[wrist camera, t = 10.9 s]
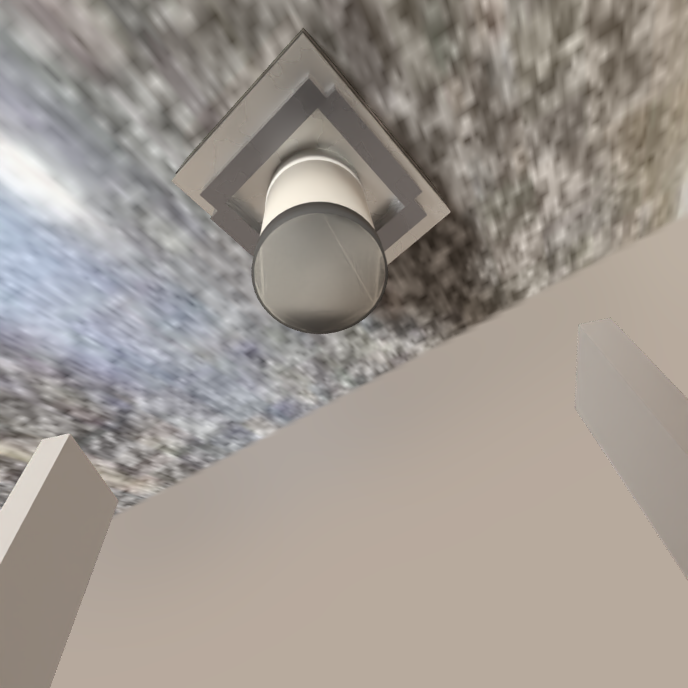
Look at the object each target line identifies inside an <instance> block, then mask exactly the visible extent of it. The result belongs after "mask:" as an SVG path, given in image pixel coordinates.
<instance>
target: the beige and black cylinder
mask: <svg viewBox="0 0 688 688" xmlns="http://www.w3.org/2000/svg"><path fill="white" fill-rule="evenodd" d="M387 278H388V266H387V260H386V256H385V252H384V249H383V246H382V243H381V241H380V238H379V236H378V234H377V233H376V231H375V228H374V225H373V222H372V218H371V215H370V212H369V208H368V205H367V199H366V195H365V192H364V189H363V186H362V184H361V182H360V179H359V177H358V174H357V172H356V171H355V169H354V168H353V166H352V165H351V164H350V163H349V162H348V161H347V160H346V159H345V158H344V157H342V156H341V155H339V154H337V153H336V152H333V151H331V150H327V149H323V148H307V149H303V150H299V151H297V152H295V153H293V154H291V155H289V156H288V157H286V158H285V159H284V160H283V161H282V162H281V163H280V164H279V165H278V167H277V168H276V170H275V171H274V173H273V176H272V178H271V181H270V185H269V188H268V191H267V196H266V202H265V212H264V218H263V223H262V228H261V234H260V237H259V239H258V241H257V245H256V248H255V252H254V257H253V263H252V283H253V287H254V290H255V293H256V295H257V298H258V300H259V301H260V303H261V304H262V306H263V307H264V309H265V310H266V311H267V312H268V313H269V314H270V315H271V316H272V317H273V318H274V319H276V320H277V321H279V322H280V323H282V324H283V325H285V326H287V327H289V328H292V329H294V330H297V331H301V332H305V333H311V334H328V333H334V332H338V331H342V330H345V329H347V328H350V327H352V326H354V325H355V324H357V323H359V322H360V321H362V320H363V319H365V318H366V317H367V316H368V315H369V314H370V313H371V312H372V311H373V310H374V309H375V307H376V306H377V305H378V303H379V301H380V300H381V298H382V296H383V294H384V291H385V288H386V284H387Z"/></svg>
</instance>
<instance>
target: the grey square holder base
mask: <svg viewBox="0 0 688 688" xmlns="http://www.w3.org/2000/svg"><path fill="white" fill-rule="evenodd" d="M307 148H323V149H327V150H331V151H333V152H336V153H337V154H339V155H341V156H342V157H344V158H345V159H346V160H347V161H348V162H349V163H350V164H351V165H352V166H353V168H354V169H355V171H356V172H357V174H358V177H359V179H360V182H361V184H362V186H363V189H364V192H365V195H366V199H367V205H368V208H369V212H370V215H371V218H372V222H373V225H374V228H375V231H376V233H377V234H378V236H379V238H380V241H381V243H382V246H383V249H384V252H385V256H386V260H387V265H388V264H389V263H391V262H392V261H393V260H394V259H395V258H397V257H398V256H399V255H400V254H401V253H403V252H404V251H405V250H406V249H407V248H408V247H410V246H411V245H412V244H413V243H414V242H416V241H417V240H418V239H419V238H420V237H422V236H423V235H424V234H425V233H426V232H428V231H429V230H430V229H431V228H432V227H434V226H435V225H436V224H437V223H438V222H440V221H441V220H442V219H443V218H444V217H445V216H447V215H448V214H449V213H450V212H451V211H450V210H449V208H448V207H447V206H446V202H445V201H444V200H443V198H442V197H441V195H440V194H439V192H438V191H437V189H436V188H435V187H434V185H433V184H432V183H431V182H430V181H429V179H428V178H427V177H426V176H425V175H424V173H423V172H422V171H421V170H420V168H419V167H418V166H417V165H416V164H415V162H414V161H413V160H412V159H411V158H410V156H409V155H408V154H407V153H406V151H405V150H404V149H403V148H402V147H401V145H400V144H399V143H398V142H397V141H396V139H395V138H394V137H393V136H392V135H391V133H390V132H389V131H388V130H387V128H386V127H385V126H384V125H383V124H382V122H381V121H380V120H379V119H378V118H377V116H376V115H375V114H374V113H373V112H372V110H371V109H370V108H369V107H368V105H367V104H366V103H365V102H364V101H363V99H362V98H361V97H360V96H359V95H358V93H357V92H356V91H355V90H354V89H353V87H352V86H351V85H350V84H349V82H348V81H347V80H346V79H345V78H344V76H343V75H342V74H341V73H340V72H339V70H338V69H337V68H336V67H335V66H334V64H333V63H332V62H331V61H330V59H329V58H328V57H327V56H326V55H325V53H324V52H323V51H322V50H321V49H320V47H319V46H318V45H317V44H316V43H315V41H314V40H313V39H312V38H311V36H310V35H309V34H308V33H307V32H306V30H305V29H304V28H302V30H301V31H300V32H299V33H298V34H297V35H296V36H295V37H294V39H293V40H292V41H291V42H290V43H289V44H288V45H287V46H286V47H285V49H284V50H283V51H282V52H281V53H280V54H279V55H278V56H277V58H276V59H275V60H274V61H273V62H272V63H271V64H270V65H269V67H268V68H267V69H266V70H265V71H264V72H263V73H262V74H261V75H260V77H259V78H258V79H257V80H256V81H255V82H254V83H253V84H252V86H251V87H250V88H249V89H248V90H247V91H246V92H245V93H244V95H243V96H242V97H241V98H240V99H239V100H238V101H237V102H236V104H235V105H234V106H233V107H232V108H231V109H230V110H229V111H228V112H227V114H226V115H225V116H224V117H223V118H222V119H221V120H220V121H219V123H218V124H217V125H216V126H215V127H214V128H213V129H212V130H211V132H210V133H209V134H208V135H207V136H206V137H205V138H204V139H203V140H202V142H201V143H200V144H199V145H198V146H197V147H196V148H195V149H194V151H193V152H192V153H191V154H190V155H189V156H188V157H187V158H186V160H185V161H184V162H183V164H182V165H181V167H180V168H179V169H178V171H177V172H176V175H175V177H174V178H173V179H172V182H173V183H175V184H176V185H177V186H178V187H179V188H180V189H181V190H182V191H184V192H185V193H186V194H187V195H188V196H189V197H190V198H191V199H193V200H194V201H195V202H196V203H197V204H198V205H199V206H201V207H202V208H203V209H204V210H205V211H206V212H207V213H208V214H210V215H211V220H213V221H214V222H215V223H216V224H217V225H218V226H219V227H221V228H222V229H223V230H224V231H225V232H226V233H227V234H228V235H230V236H231V237H232V238H233V239H234V240H235V241H236V242H238V243H239V244H240V245H241V246H242V247H243V248H244V249H246V250H247V251H248V252H249V253H250V254H251V255H252V256H253V257H254V252H255V248H256V245H257V241H258V239H259V237H260V234H261V228H262V223H263V218H264V212H265V202H266V196H267V191H268V188H269V185H270V181H271V178H272V176H273V173H274V171H275V170H276V168H277V167H278V165H279V164H280V163H281V162H282V161H283V160H284V159H285V158H286V157H288V156H289V155H291V154H293V153H295V152H297V151H299V150H303V149H307Z"/></svg>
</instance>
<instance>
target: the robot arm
mask: <svg viewBox="0 0 688 688" xmlns="http://www.w3.org/2000/svg"><path fill="white" fill-rule="evenodd" d="M576 371H577V372H576V393H575V409H576V411H577V412H578V414H579V415H580V417H581V418H582V420H583V421H584V423H585V424H586V426H587V427H588V429H589V430H590V432H591V433H592V435H593V437H594V438H595V439H596V441H597V443H598V444H599V446H600V447H601V449H602V450H603V452H604V453H605V455H606V456H607V458H608V460H609V461H610V463H611V464H612V466H613V467H614V469H615V470H616V472H617V473H618V475H619V476H620V478H621V479H622V481H623V482H624V484H625V485H626V487H627V489H628V490H629V491H630V493H631V495H632V496H633V498H634V499H635V501H636V502H637V504H638V505H639V507H640V508H641V510H642V511H643V513H644V515H645V516H646V517H647V519H648V521H649V522H650V523H651V525H652V526H653V528H654V530H655V531H656V533H657V534H658V536H659V537H660V539H661V540H662V542H663V543H664V545H665V547H666V548H667V550H668V551H669V553H670V554H671V556H672V557H673V559H674V560H675V562H676V563H677V565H678V566H679V568H680V569H681V571H682V573H683V574H684V575H685V577H686V579H687V580H688V399H687V398H686V397H685V396H684V395H683V394H682V392H681V391H679V389H678V388H677V387H676V386H675V385H674V384H673V383H672V382H671V381H670V380H669V379H668V378H667V377H666V376H665V375H664V374H663V373H662V372H661V370H660V369H659V368H658V367H657V366H656V365H655V364H654V363H653V362H652V361H651V360H650V359H649V358H648V357H647V356H646V355H645V354H644V353H643V352H642V350H641V349H640V348H639V347H638V346H637V345H636V344H635V343H634V342H633V341H632V340H631V339H630V338H629V337H628V336H627V335H626V334H625V332H624V331H623V330H622V329H620V327H619V326H618V325H617V324H616V323H615V322H614V321H613V320H612V319H611V318H606V319H602V320H597V321H592V322H588V323H583V324H579V325H578V347H577V369H576ZM117 503H118V500H117V498H116V497H115V495H114V494H113V493H112V491H111V490H110V488H109V487H108V486H107V484H106V483H105V481H104V480H103V479H102V477H101V476H100V475H99V473H98V472H97V470H96V469H95V468H94V466H93V465H92V463H91V462H90V461H89V459H88V458H87V456H86V455H85V454H84V452H83V451H82V450H81V448H80V447H79V445H78V444H77V443H76V441H75V440H74V438H73V437H72V436H71V434H65V435H61V436H56V437H51V438H47V439H42V441H41V443H40V444H39V446H38V448H37V449H36V451H35V453H34V454H33V456H32V458H31V460H30V461H29V463H28V465H27V466H26V468H25V470H24V471H23V473H22V475H21V477H20V478H19V480H18V482H17V483H16V485H15V487H14V488H13V490H12V492H11V494H10V495H9V497H8V499H7V500H6V502H5V504H4V505H3V507H2V509H1V511H0V688H50V686H51V683H52V680H53V678H54V675H55V672H56V670H57V667H58V664H59V661H60V658H61V656H62V653H63V651H64V648H65V645H66V642H67V640H68V637H69V634H70V632H71V629H72V626H73V623H74V620H75V618H76V615H77V612H78V610H79V607H80V604H81V601H82V598H83V596H84V593H85V591H86V588H87V585H88V582H89V580H90V577H91V574H92V572H93V569H94V566H95V563H96V561H97V558H98V555H99V553H100V550H101V547H102V544H103V542H104V539H105V536H106V533H107V531H108V528H109V525H110V522H111V520H112V517H113V514H114V512H115V509H116V506H117Z"/></svg>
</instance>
